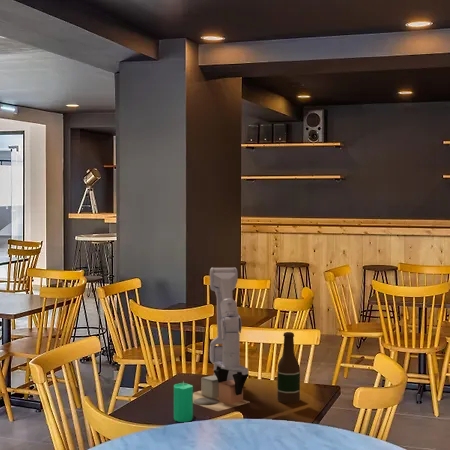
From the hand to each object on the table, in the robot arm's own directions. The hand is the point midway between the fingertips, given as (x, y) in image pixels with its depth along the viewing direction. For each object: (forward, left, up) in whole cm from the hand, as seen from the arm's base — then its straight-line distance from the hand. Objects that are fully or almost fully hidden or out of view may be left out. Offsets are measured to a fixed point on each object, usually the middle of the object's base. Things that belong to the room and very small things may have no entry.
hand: (230, 392), depth 232 cm
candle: (+22, +2, -4) cm, 23 cm away
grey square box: (0, -9, -3) cm, 10 cm away
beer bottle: (-15, +13, -4) cm, 20 cm away
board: (+4, -5, -4) cm, 7 cm away
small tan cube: (0, 0, -3) cm, 3 cm away
